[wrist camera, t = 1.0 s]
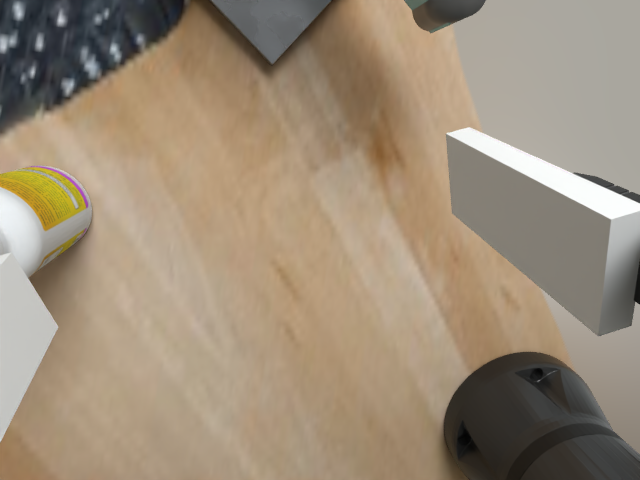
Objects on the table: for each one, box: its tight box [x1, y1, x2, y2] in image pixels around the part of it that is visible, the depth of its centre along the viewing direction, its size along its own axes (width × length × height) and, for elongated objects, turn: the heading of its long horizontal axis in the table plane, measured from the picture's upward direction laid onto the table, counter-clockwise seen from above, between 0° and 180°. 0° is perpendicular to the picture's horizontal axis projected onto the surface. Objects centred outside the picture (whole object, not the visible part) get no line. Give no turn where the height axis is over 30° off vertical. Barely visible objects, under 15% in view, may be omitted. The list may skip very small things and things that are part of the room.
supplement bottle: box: [0, 166, 92, 278], centre depth 30 cm, size 7×7×13 cm
